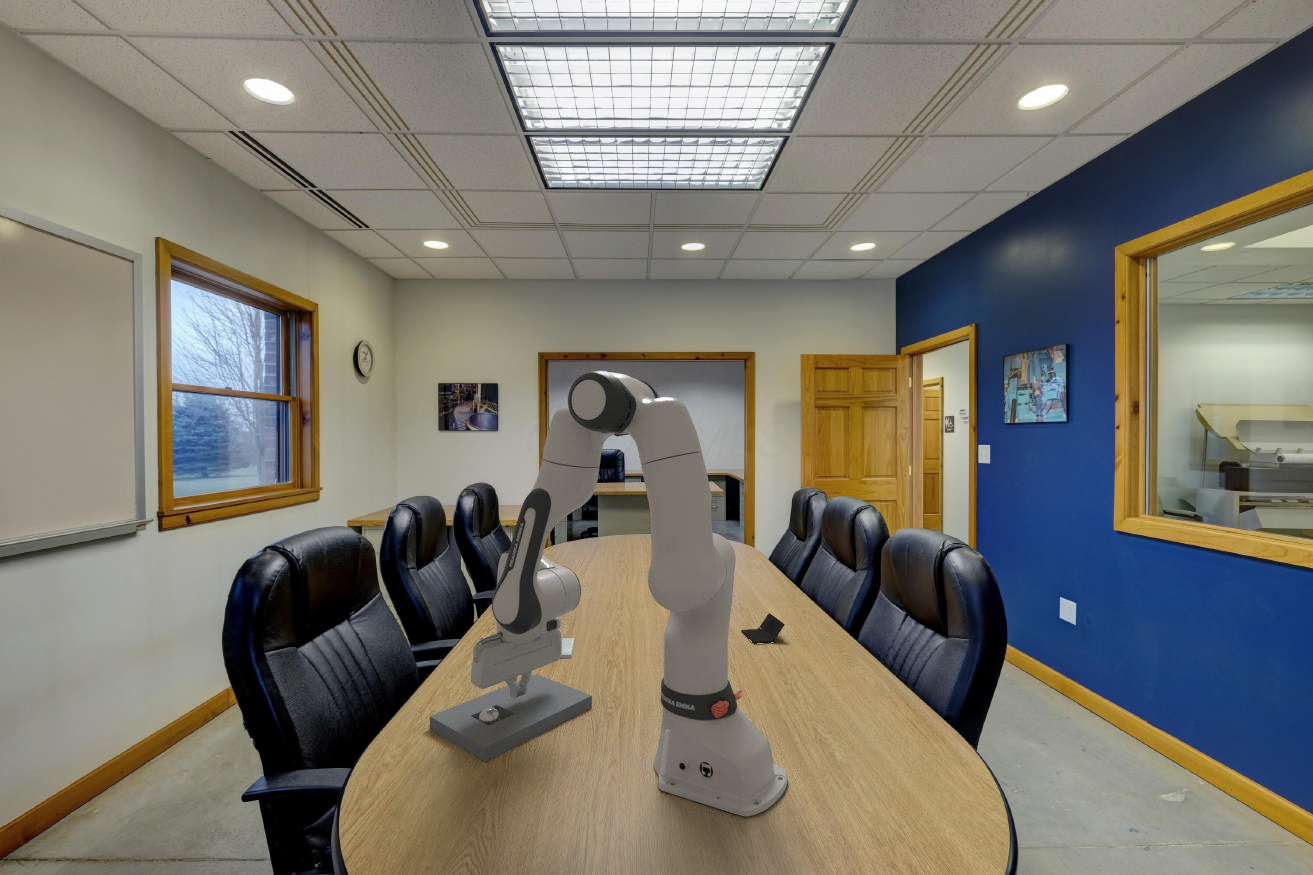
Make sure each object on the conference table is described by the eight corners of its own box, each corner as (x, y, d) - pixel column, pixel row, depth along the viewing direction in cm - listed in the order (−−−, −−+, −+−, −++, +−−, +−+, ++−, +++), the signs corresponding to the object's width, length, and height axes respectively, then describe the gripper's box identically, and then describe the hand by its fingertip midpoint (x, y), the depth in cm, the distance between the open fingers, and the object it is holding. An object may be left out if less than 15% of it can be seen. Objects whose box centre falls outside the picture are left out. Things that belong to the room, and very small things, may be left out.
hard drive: (545, 638, 156) (539, 654, 143) (574, 637, 156) (571, 653, 144) (545, 644, 155) (539, 661, 143) (574, 643, 156) (571, 660, 144)
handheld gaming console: (734, 628, 164) (755, 600, 165) (750, 640, 166) (770, 612, 167) (754, 646, 153) (775, 617, 154) (770, 659, 155) (791, 629, 157)
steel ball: (503, 707, 107) (485, 715, 104) (504, 728, 107) (485, 736, 104) (492, 701, 110) (473, 709, 107) (492, 721, 110) (474, 729, 107)
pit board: (591, 707, 116) (592, 695, 116) (484, 762, 96) (484, 747, 96) (536, 684, 127) (536, 673, 127) (429, 729, 107) (429, 716, 107)
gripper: (483, 643, 103) (482, 719, 102) (566, 618, 119) (566, 683, 118) (464, 636, 107) (463, 709, 106) (547, 612, 123) (546, 675, 122)
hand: (518, 695), depth 112 cm, fingers closed
